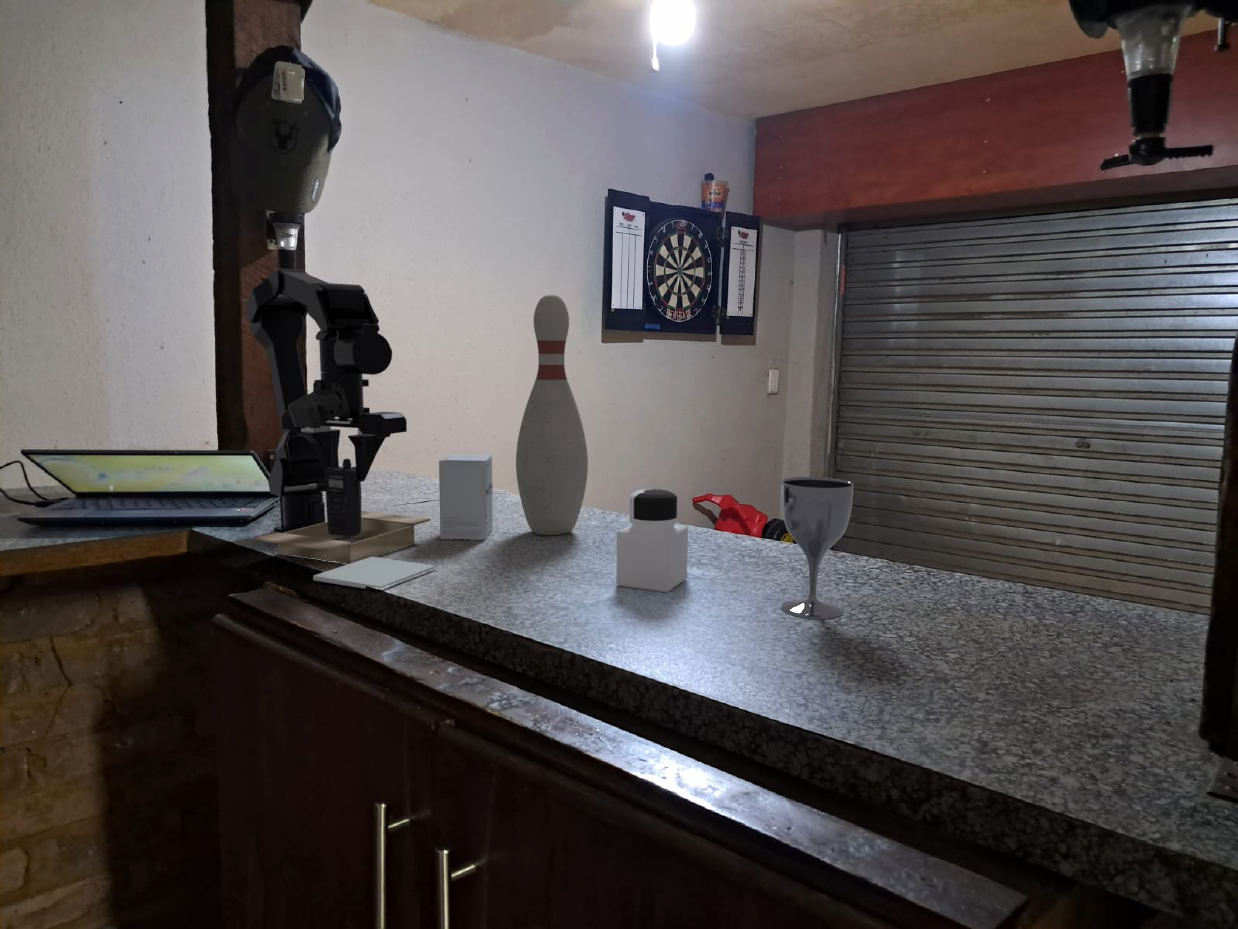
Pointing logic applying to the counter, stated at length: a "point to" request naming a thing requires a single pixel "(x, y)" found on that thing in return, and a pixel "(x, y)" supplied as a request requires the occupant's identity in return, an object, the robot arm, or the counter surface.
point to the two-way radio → (342, 496)
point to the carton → (375, 529)
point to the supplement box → (466, 497)
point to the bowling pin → (551, 433)
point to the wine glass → (815, 531)
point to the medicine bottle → (652, 543)
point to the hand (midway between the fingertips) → (345, 480)
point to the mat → (373, 572)
